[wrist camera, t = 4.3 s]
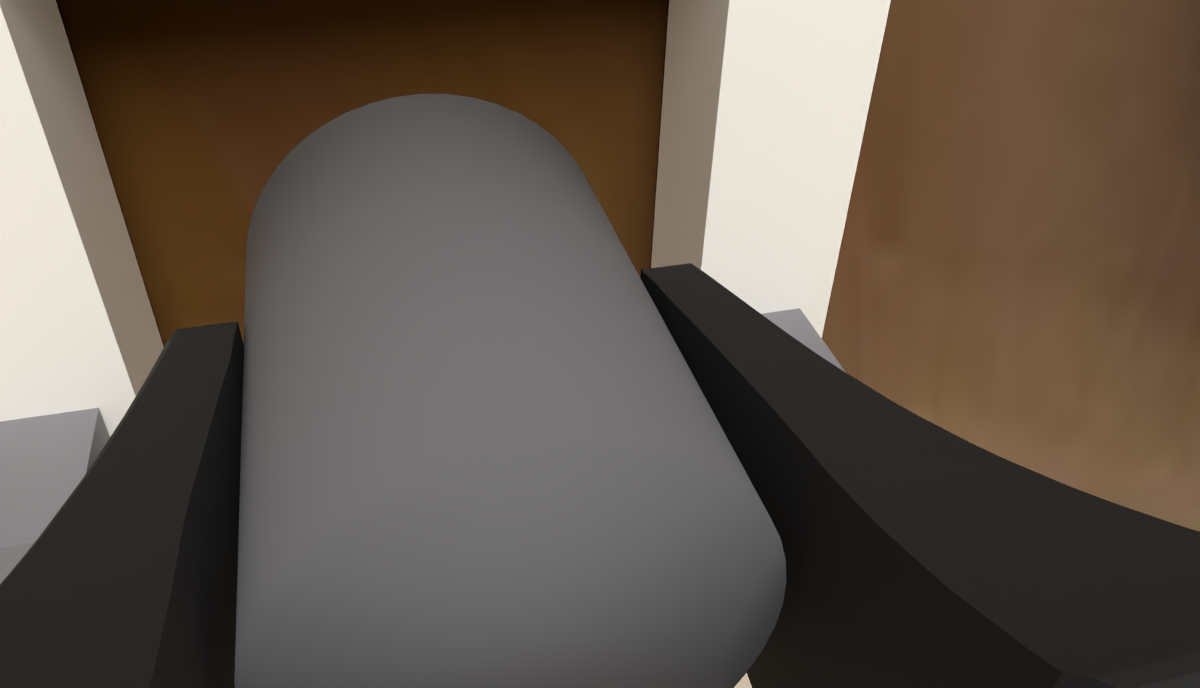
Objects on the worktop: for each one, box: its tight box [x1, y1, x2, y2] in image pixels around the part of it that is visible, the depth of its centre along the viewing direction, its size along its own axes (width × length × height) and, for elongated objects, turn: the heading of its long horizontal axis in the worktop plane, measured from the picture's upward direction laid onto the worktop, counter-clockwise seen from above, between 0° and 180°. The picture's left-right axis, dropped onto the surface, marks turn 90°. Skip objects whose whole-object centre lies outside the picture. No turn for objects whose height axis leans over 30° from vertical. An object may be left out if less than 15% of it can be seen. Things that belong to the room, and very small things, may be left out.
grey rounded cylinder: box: [234, 94, 786, 688], centre depth 10 cm, size 4×4×6 cm
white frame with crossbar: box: [0, 0, 891, 584], centre depth 13 cm, size 14×12×5 cm
